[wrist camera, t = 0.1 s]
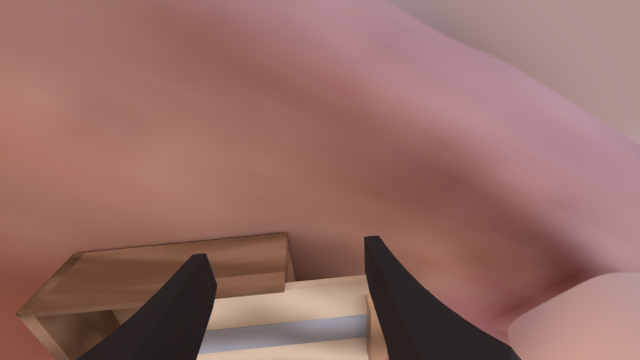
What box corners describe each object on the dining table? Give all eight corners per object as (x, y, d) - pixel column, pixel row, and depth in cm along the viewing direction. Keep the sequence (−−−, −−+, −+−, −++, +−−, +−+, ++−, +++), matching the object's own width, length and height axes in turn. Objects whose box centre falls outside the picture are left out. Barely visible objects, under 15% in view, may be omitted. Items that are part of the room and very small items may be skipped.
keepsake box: (301, 317, 31) (301, 377, 25) (125, 335, 30) (90, 398, 25) (287, 232, 25) (283, 287, 20) (73, 253, 25) (15, 313, 20)
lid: (383, 350, 26) (390, 378, 24) (201, 369, 26) (192, 398, 24) (386, 272, 22) (395, 299, 20) (164, 294, 21) (150, 323, 19)
